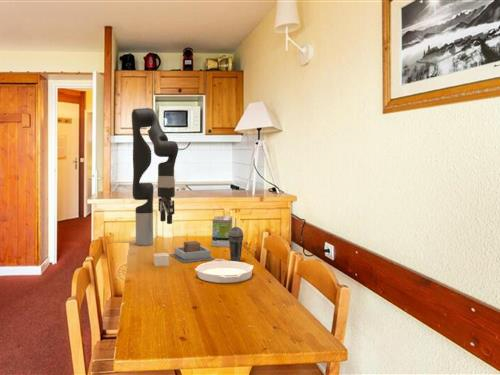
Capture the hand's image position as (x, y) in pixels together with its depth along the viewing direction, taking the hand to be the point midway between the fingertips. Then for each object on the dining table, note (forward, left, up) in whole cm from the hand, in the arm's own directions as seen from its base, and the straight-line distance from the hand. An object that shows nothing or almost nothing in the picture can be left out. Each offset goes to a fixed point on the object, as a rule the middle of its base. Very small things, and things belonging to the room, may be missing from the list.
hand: (166, 222), depth 197 cm
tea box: (-28, +41, -19) cm, 53 cm away
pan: (+29, +15, -19) cm, 38 cm away
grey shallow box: (-6, +15, -19) cm, 24 cm away
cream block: (0, -2, -19) cm, 19 cm away
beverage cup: (+8, +31, -19) cm, 37 cm away
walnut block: (-6, +15, -17) cm, 23 cm away
